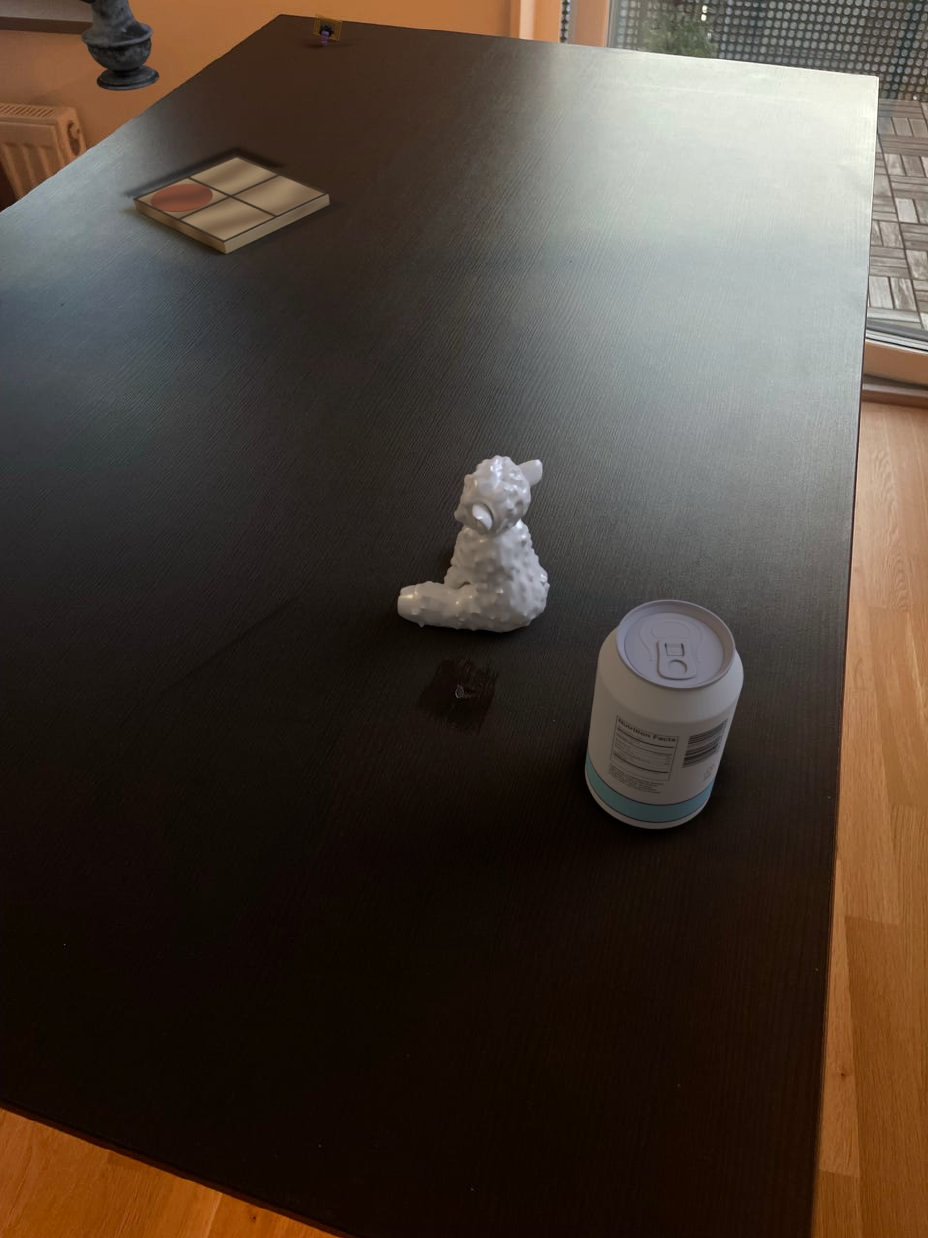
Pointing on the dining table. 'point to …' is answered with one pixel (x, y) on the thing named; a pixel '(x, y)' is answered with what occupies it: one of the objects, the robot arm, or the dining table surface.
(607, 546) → the dining table surface
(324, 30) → the framed picture
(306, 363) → the dining table surface
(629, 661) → the beverage can
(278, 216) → the board
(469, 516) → the white creature statuette
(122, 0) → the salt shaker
